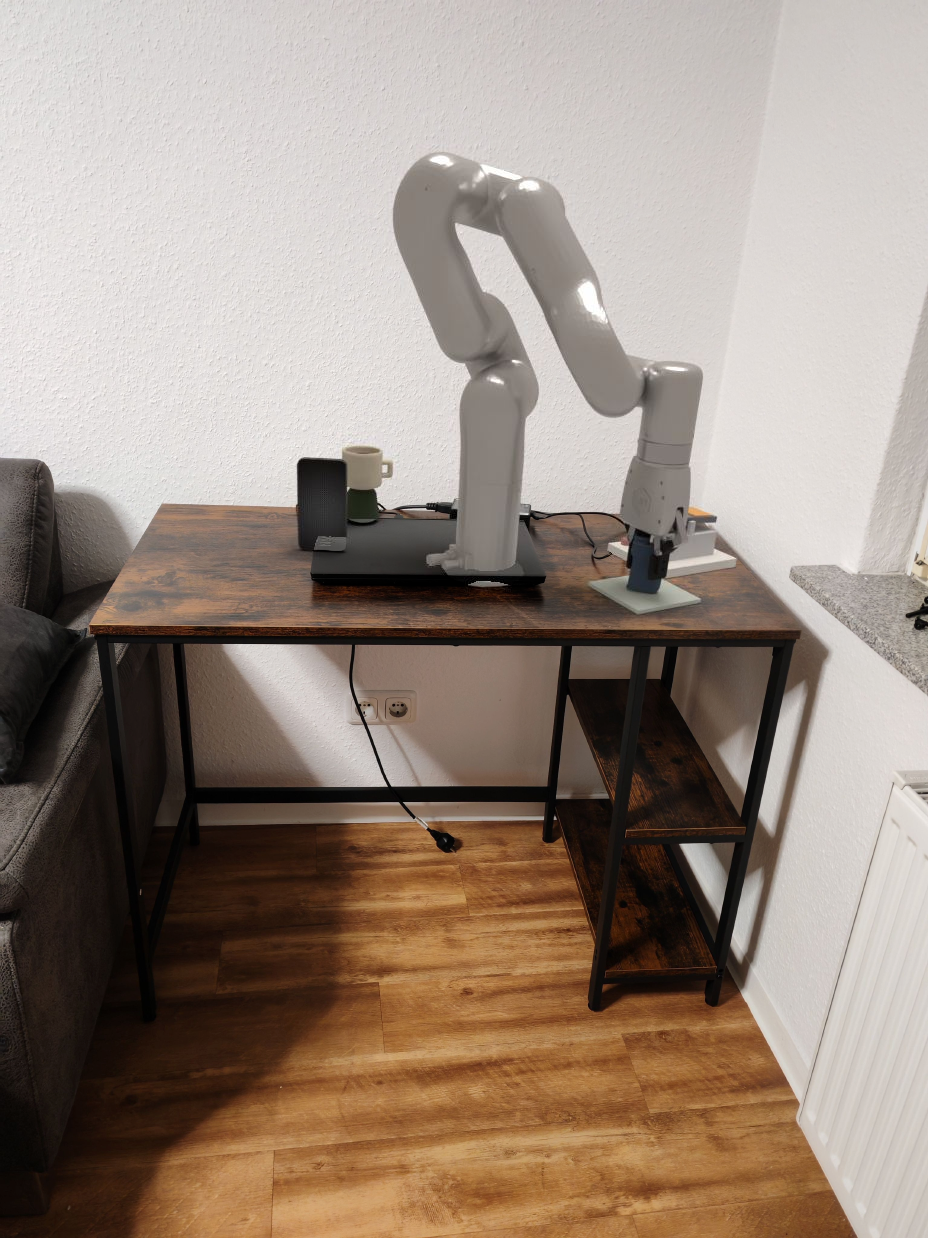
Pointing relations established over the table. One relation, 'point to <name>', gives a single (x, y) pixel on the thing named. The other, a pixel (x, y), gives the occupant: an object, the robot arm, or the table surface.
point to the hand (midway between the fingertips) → (645, 571)
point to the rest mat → (643, 595)
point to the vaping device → (642, 564)
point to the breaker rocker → (700, 516)
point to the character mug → (364, 479)
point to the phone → (321, 499)
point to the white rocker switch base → (687, 553)
